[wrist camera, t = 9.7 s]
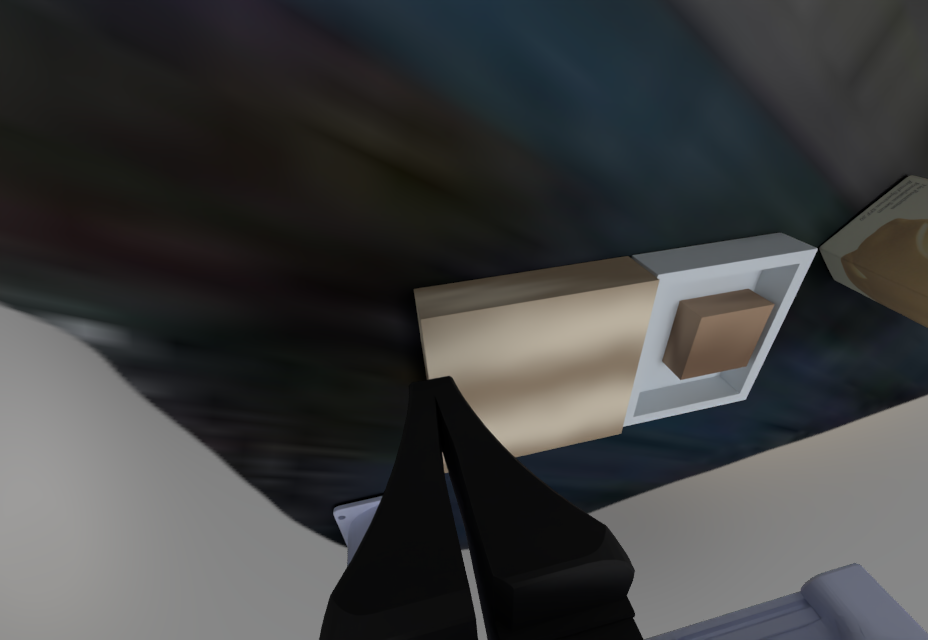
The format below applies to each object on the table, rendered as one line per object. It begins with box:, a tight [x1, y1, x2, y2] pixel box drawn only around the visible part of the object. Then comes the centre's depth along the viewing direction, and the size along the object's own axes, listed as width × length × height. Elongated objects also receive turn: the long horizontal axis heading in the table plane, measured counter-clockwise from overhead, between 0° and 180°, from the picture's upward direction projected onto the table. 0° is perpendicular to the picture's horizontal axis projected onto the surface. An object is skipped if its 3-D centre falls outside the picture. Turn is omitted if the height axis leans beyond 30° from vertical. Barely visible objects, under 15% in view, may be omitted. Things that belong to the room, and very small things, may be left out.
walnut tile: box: [662, 289, 774, 380], centre depth 26 cm, size 5×5×2 cm
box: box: [623, 232, 818, 427], centre depth 26 cm, size 12×10×2 cm
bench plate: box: [414, 256, 659, 473], centre depth 24 cm, size 12×12×3 cm
